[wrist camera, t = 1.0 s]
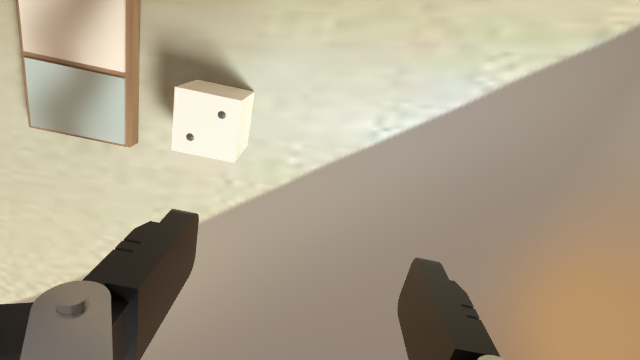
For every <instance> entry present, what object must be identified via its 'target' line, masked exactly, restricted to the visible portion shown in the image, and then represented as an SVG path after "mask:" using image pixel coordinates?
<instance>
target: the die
mask: <svg viewBox="0 0 640 360" xmlns="http://www.w3.org/2000/svg"><path fill="white" fill-rule="evenodd" d="M253 100H254V91H250V90H245V89H240V88H235V87H231V86H226V85H221V84H217V83H212V82H207V81H203V80H198V79H197V80H194V81H191V82H188V83H185V84H182V85H179V86H175V92H174V111H173V130H172V149H171V150H173V151H178V152H183V153H188V154H193V155H198V156H203V157H208V158H213V159H218V160H223V161H228V162H233V163H234V162H235V161H236V160H237V158H238V157H239V156H240V155H241V153H242V152H243V151H244V149H245V148H246V147H247V144H248V137H249V129H250V122H251V115H252V107H253Z"/></svg>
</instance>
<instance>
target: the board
mask: <svg viewBox="0 0 640 360" xmlns="http://www.w3.org/2000/svg"><path fill="white" fill-rule="evenodd" d="M16 5H17V14H18V24H19V34H20V44H21V53H22V63H23V73H24V83H25V93H26V102H27V112H28V122H29V127H31V128H36V129H41V130H46V131H51V132H56V133H61V134H66V135H71V136H76V137H81V138H86V139H91V140H96V141H100V142H105V143H110V144H115V145H120V146H125V147H131V146H133V145H135V144H137V143H138V108H139V45H140V0H16Z"/></svg>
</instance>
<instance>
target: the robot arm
mask: <svg viewBox="0 0 640 360" xmlns="http://www.w3.org/2000/svg"><path fill="white" fill-rule="evenodd" d="M198 222H199V217H198V214H196V213H191V212H186V211H181V210H176V209H172V210H171V211H170V212H169V213H168V214H167V215H166V216H165V217H164V218H163V219H162V220H161V222H160V223H157V222H152V221H150V222H148V223H146V224H143V225H141V226H139V227H137V228H135V229H134V230H133V231H132V232H131V233H130V234H129V235H128V236H127V237H126V238H125V239H124V241H122V242H121V243H120V244H119V245H118V246H117V247H116V248H115V250H112V251H111V252H110V253H109V254H108V255H107V256H106V257H105V258H104V259H103V260H102V261H101V262H100V263H99V264H98V265H97V266H96V267H95V268H94V269H93V270H92V271H91V272H90V273H89V274H88V275H87V276H86V277H85V278H84V279H83V280H82V281H73V282H68V283H64V284H61V285H58V286H55V287H53V288H51V289H49V290H47V291H46V292H44V293H43V294H41V295H40V296H39V297H38V298H37V299H36V300H35V301H34V302H32V303H18V304H0V360H140V359H141V357H142V356H143V354H144V352H145V350H146V349H147V347H148V345H149V343H150V342H151V340H152V339H153V337H154V335H155V334H156V332H157V330H158V328H159V327H160V325H161V323H162V322H163V320H164V318H165V316H166V315H167V313H168V311H169V310H170V308H171V306H172V305H173V303H174V301H175V299H176V298H177V296H178V294H179V293H180V291H181V289H182V287H183V286H184V284H185V282H186V281H187V279H188V277H189V275H190V273H191V271H192V268H193V264H194V260H195V254H196V243H197V232H198ZM398 318H399V322H400V326H401V330H402V334H403V338H404V342H405V347H406V351H407V355H408V358H409V360H506V359H504V358H501V357H500V355H499V353H498V351H497V350H496V348H495V346H494V344H493V342H492V340H491V338H490V336H489V334H488V333H487V331H486V329H485V327H484V325H483V323H482V321H481V320H479V316H478V314H477V312H476V310H475V309H473V305H472V302H471V301H470V299H469V297H468V295H467V293H466V292H465V291H464V290H463V289H462V288H461V287H460V286H459V285H458V284H457V283H456V282H455V281H451V280H449V279H448V276H447V274H446V272H445V270H444V268H443V266H442V264H441V263H440V262H436V261H430V260H426V259H421V258H415V259H414V260H413V262H412V264H411V267H410V269H409V272H408V275H407V277H406V280H405V283H404V285H403V288H402V291H401V293H400V297H399V301H398Z"/></svg>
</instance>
